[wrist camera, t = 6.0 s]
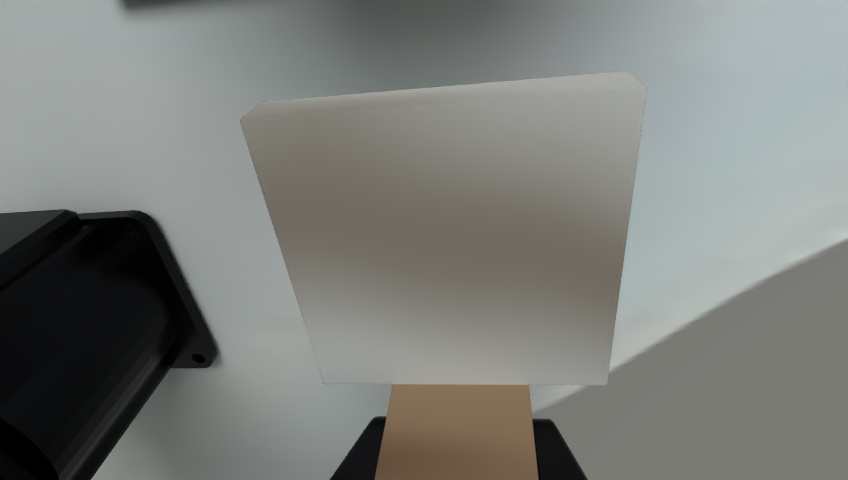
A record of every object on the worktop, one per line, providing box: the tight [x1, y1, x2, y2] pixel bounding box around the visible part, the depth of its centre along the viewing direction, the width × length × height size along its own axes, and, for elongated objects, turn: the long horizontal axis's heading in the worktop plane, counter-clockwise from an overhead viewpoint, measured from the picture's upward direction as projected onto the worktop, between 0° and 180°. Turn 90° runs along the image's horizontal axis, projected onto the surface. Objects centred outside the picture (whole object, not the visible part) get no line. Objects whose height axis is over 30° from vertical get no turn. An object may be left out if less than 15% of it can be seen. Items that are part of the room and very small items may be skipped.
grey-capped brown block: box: [240, 71, 647, 480], centre depth 7 cm, size 10×5×4 cm, turn 6°
